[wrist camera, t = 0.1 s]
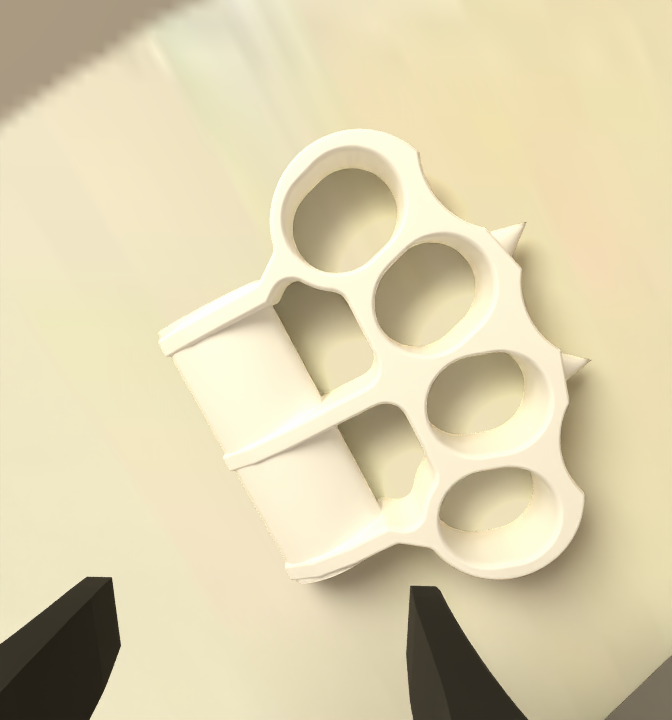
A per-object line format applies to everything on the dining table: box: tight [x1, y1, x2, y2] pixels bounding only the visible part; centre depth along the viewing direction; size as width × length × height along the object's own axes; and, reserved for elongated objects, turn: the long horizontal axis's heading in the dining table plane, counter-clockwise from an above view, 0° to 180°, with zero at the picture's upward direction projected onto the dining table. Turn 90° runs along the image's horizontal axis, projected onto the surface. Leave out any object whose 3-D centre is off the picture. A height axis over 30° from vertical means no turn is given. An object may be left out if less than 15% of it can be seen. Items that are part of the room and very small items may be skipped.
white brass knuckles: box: [158, 129, 591, 584], centre depth 22 cm, size 3×18×15 cm
